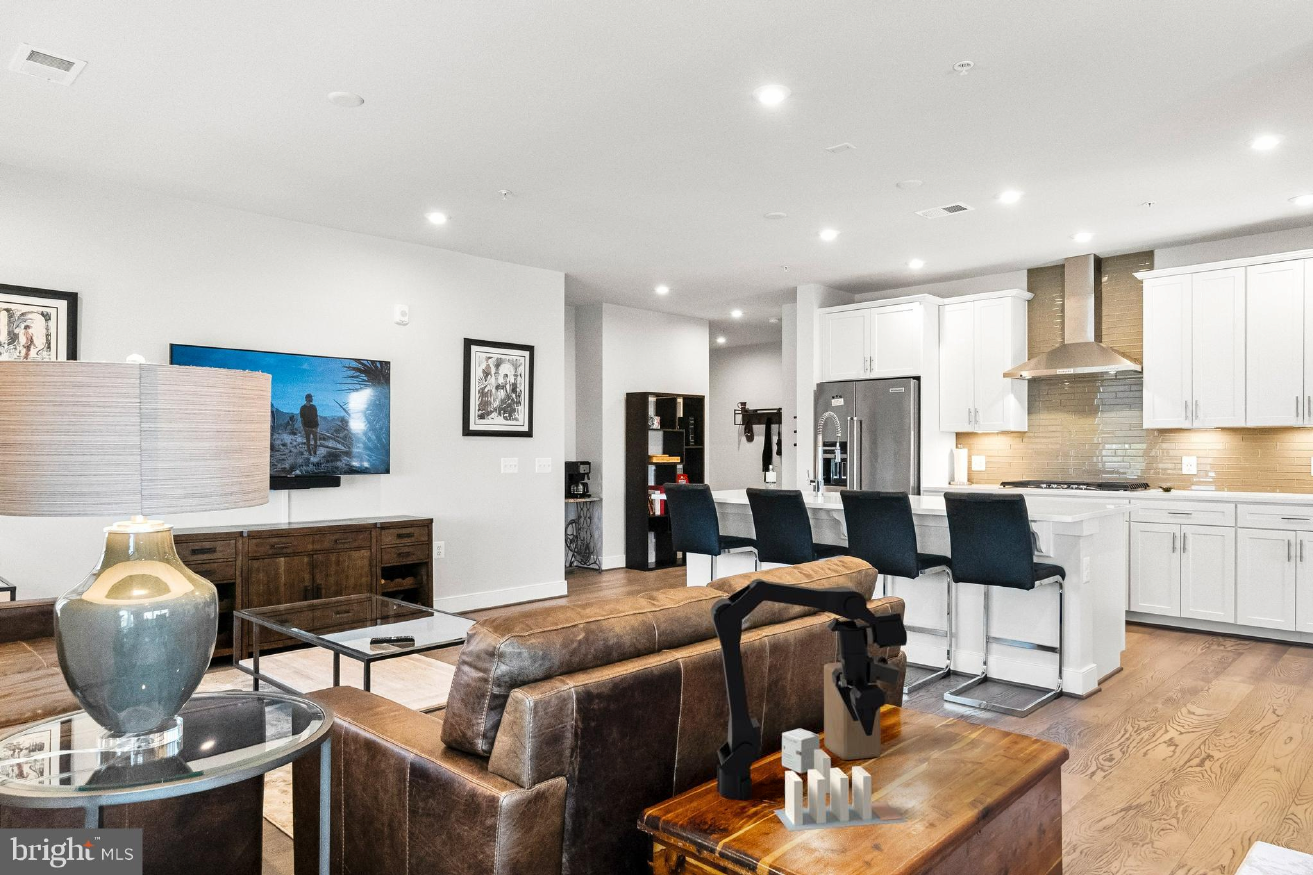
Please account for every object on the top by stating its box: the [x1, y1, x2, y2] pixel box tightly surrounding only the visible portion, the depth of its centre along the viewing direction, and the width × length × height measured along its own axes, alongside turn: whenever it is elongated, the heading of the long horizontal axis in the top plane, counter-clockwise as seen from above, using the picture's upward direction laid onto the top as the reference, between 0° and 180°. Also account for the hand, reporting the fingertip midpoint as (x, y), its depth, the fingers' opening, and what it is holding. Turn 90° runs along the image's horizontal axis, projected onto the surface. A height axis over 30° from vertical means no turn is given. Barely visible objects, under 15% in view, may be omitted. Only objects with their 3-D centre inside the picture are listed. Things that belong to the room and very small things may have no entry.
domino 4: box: [851, 765, 872, 820], centre depth 155 cm, size 2×5×8 cm, turn 10°
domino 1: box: [784, 770, 804, 825], centre depth 153 cm, size 2×5×8 cm, turn 10°
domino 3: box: [829, 767, 850, 822], centre depth 154 cm, size 2×5×8 cm, turn 10°
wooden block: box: [823, 661, 882, 761], centre depth 191 cm, size 10×10×20 cm
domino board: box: [773, 801, 908, 832], centre depth 154 cm, size 23×9×1 cm, turn 100°
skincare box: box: [781, 727, 821, 774], centre depth 182 cm, size 6×6×7 cm
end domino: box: [814, 748, 832, 794], centre depth 167 cm, size 2×5×8 cm, turn 10°
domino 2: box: [807, 769, 827, 824], centre depth 153 cm, size 2×5×8 cm, turn 10°
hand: (862, 727), depth 165 cm, fingers open, 9 cm apart
